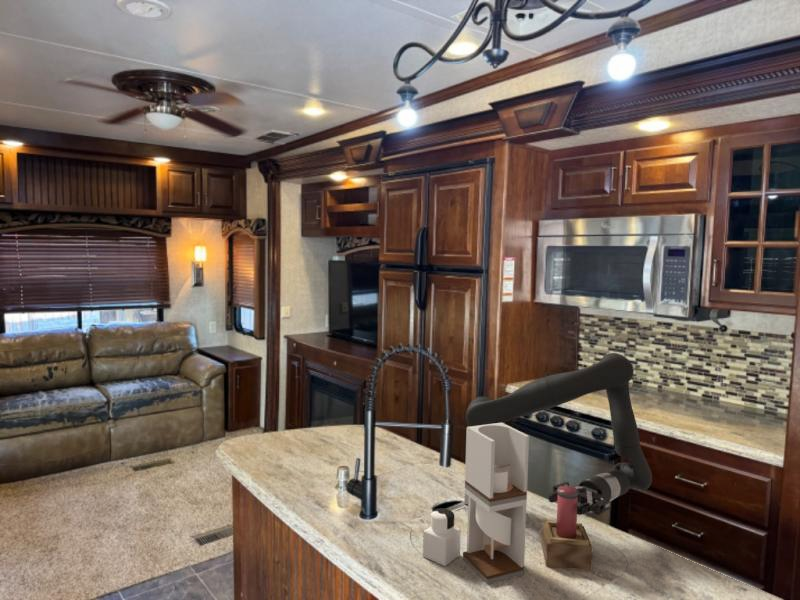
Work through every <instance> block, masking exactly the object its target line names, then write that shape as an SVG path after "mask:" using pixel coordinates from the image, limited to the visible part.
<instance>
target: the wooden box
mask: <svg viewBox="0 0 800 600" xmlns="http://www.w3.org/2000/svg"><path fill="white" fill-rule="evenodd" d="M556 527H557V521H552V520H545V521H544V522H542V523H541V535H540V536H541V537H540V545H541V551H542V554H543V557H544V563H545V567H548V568H549V567H550V568H559V569H560V568H561V569H572V570H584V571H585V570H586V571H592V565H593V564H592V563H593V545H592V543H591V540H590V538H589V536H588V533H587V531H586V528H585V526H584V525H583V523H578V522H577V529H576V538H574V539H567V538H561V537H559V536H558V535H557V534H556Z"/></svg>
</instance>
